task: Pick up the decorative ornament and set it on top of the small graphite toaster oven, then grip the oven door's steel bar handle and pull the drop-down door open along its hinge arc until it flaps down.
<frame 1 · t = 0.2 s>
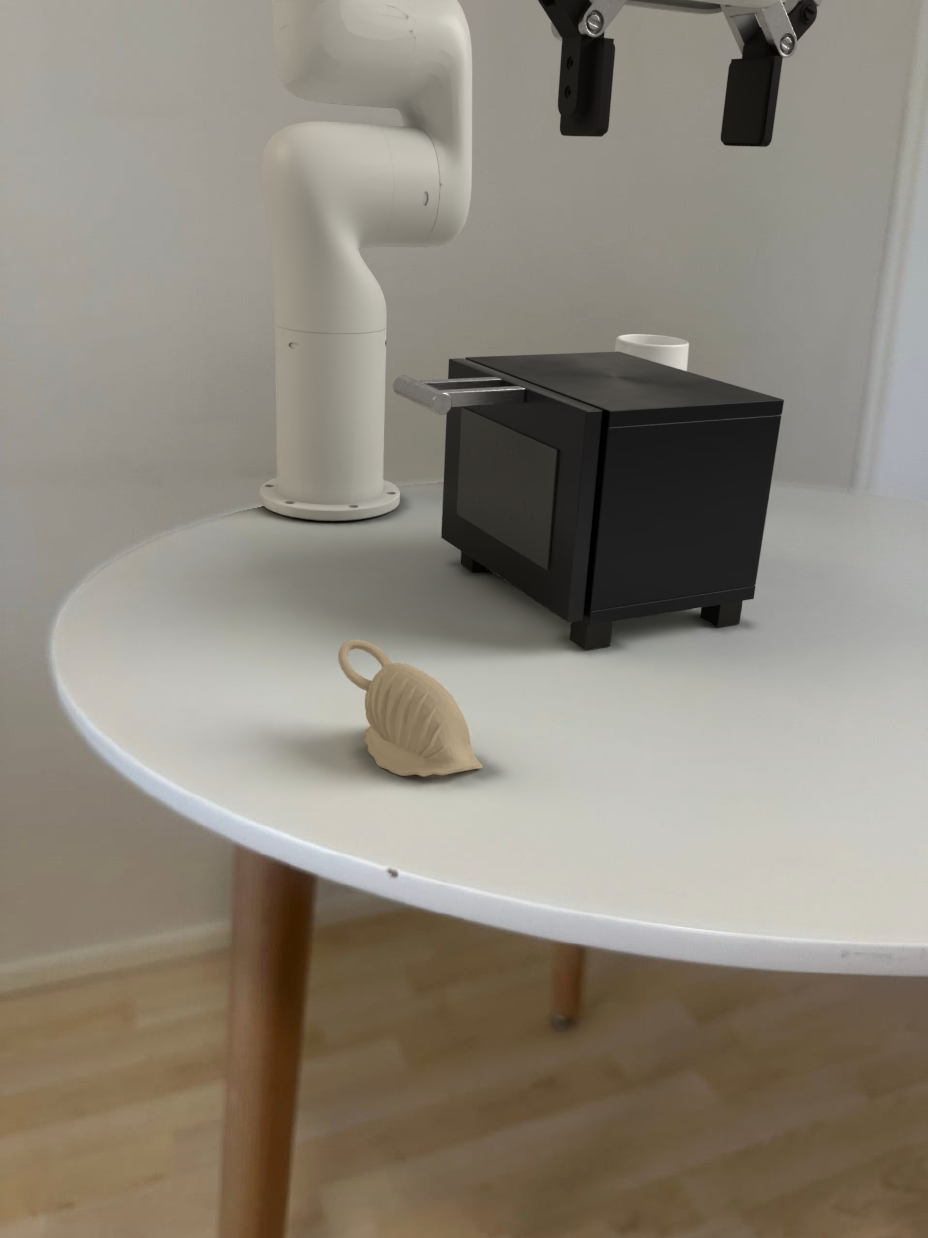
hand: (666, 140, 56), 31 cm above the table, tool pointing down, fingers open, 9 cm apart
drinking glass: (635, 500, 110), on the table
oven door: (465, 484, 78), point 9 cm above the table, hinge at 0.0°
oven: (592, 592, 86), on the table
decorative ornament: (407, 755, 62), on the table
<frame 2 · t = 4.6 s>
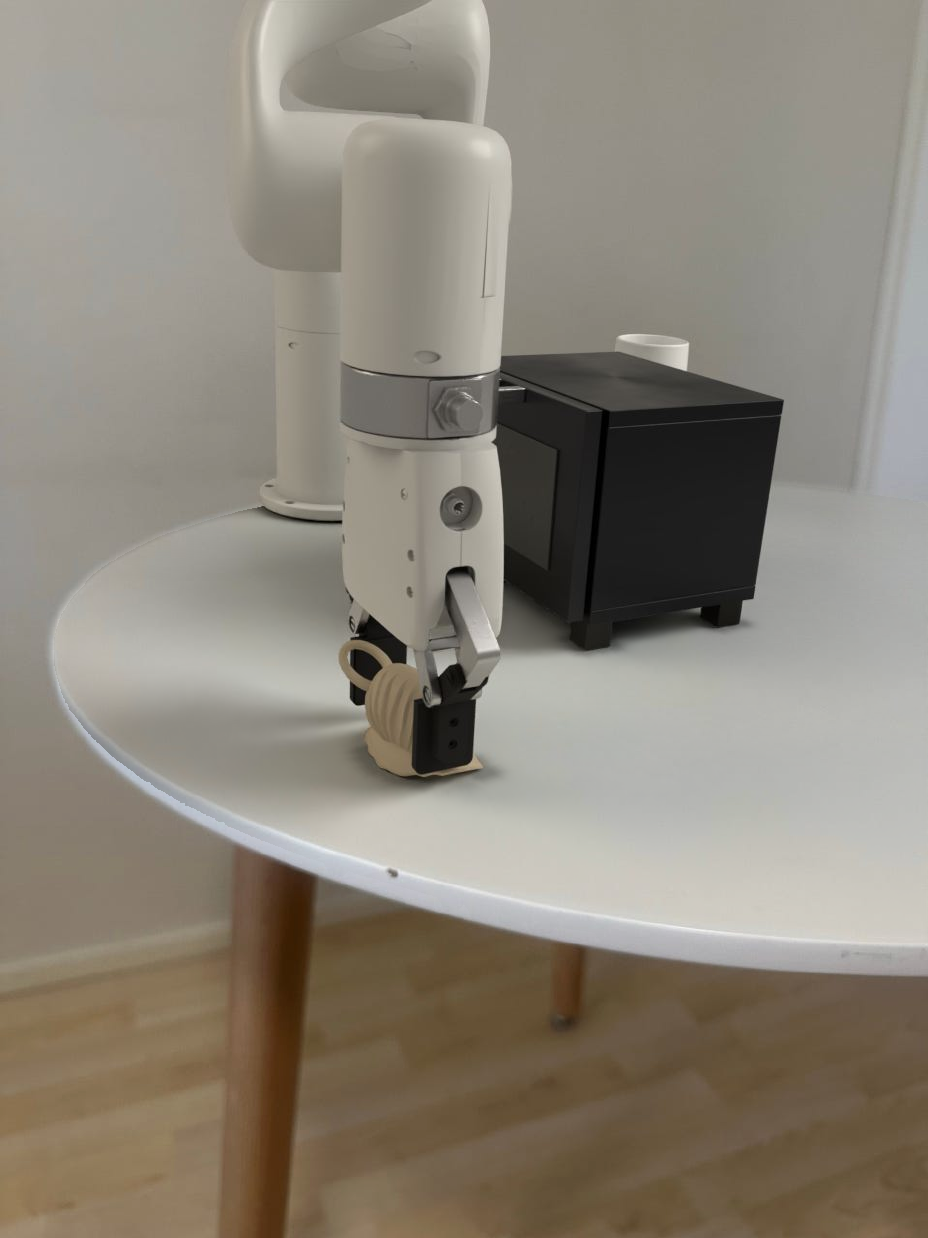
hand: (408, 730, 62), 1 cm above the table, tool pointing down, fingers closed on decorative ornament, 7 cm apart
decorative ornament: (408, 755, 62), on the table, touching gripper
everything else where it was.
when the fingers open (17 cm above the table, at t = 11.0 s): decorative ornament stays where it is, resting on oven.
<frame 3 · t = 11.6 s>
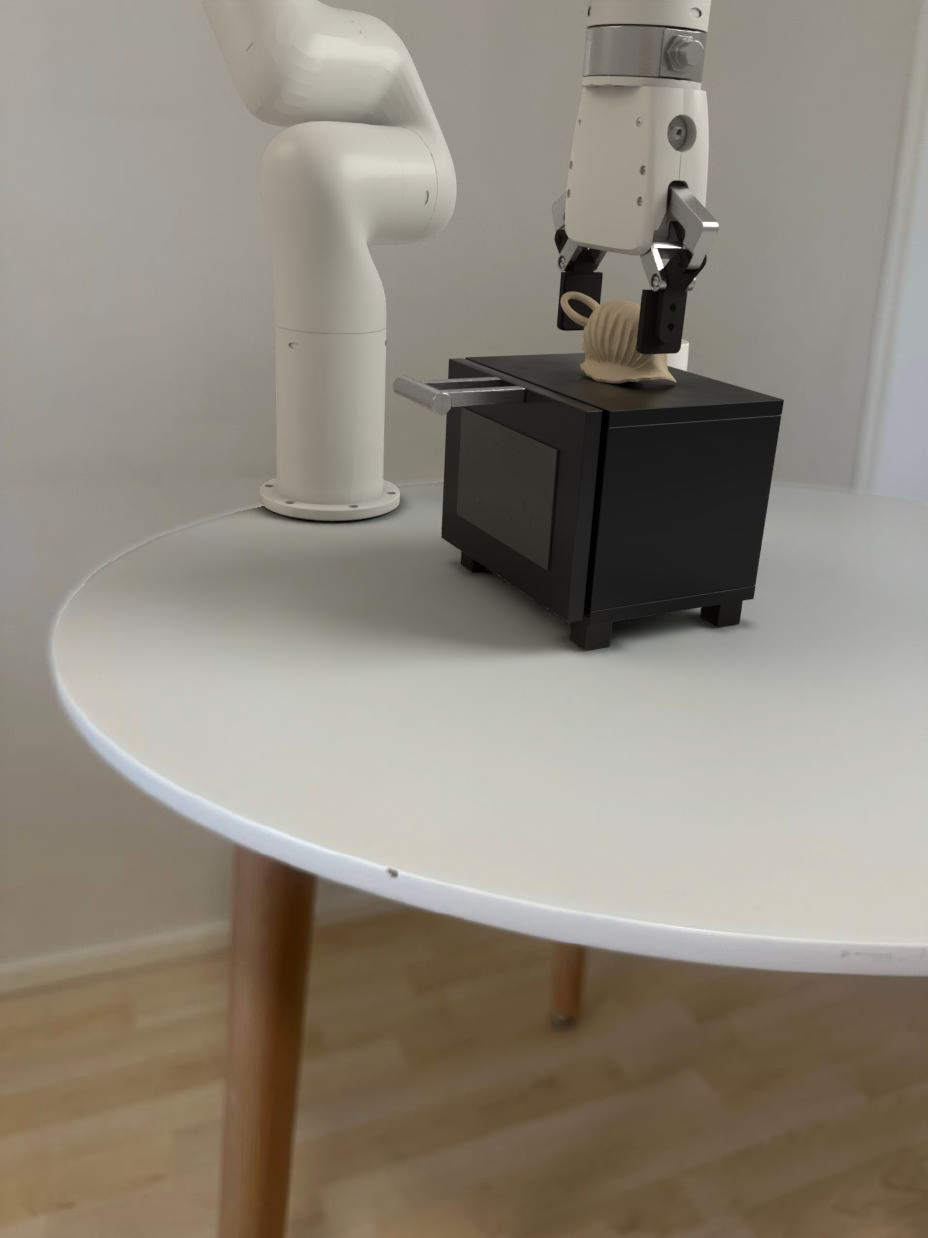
hand: (615, 340, 79), 18 cm above the table, tool pointing down, fingers open, 9 cm apart
decorative ornament: (614, 380, 80), point 16 cm above the table, touching oven
everything else where it was.
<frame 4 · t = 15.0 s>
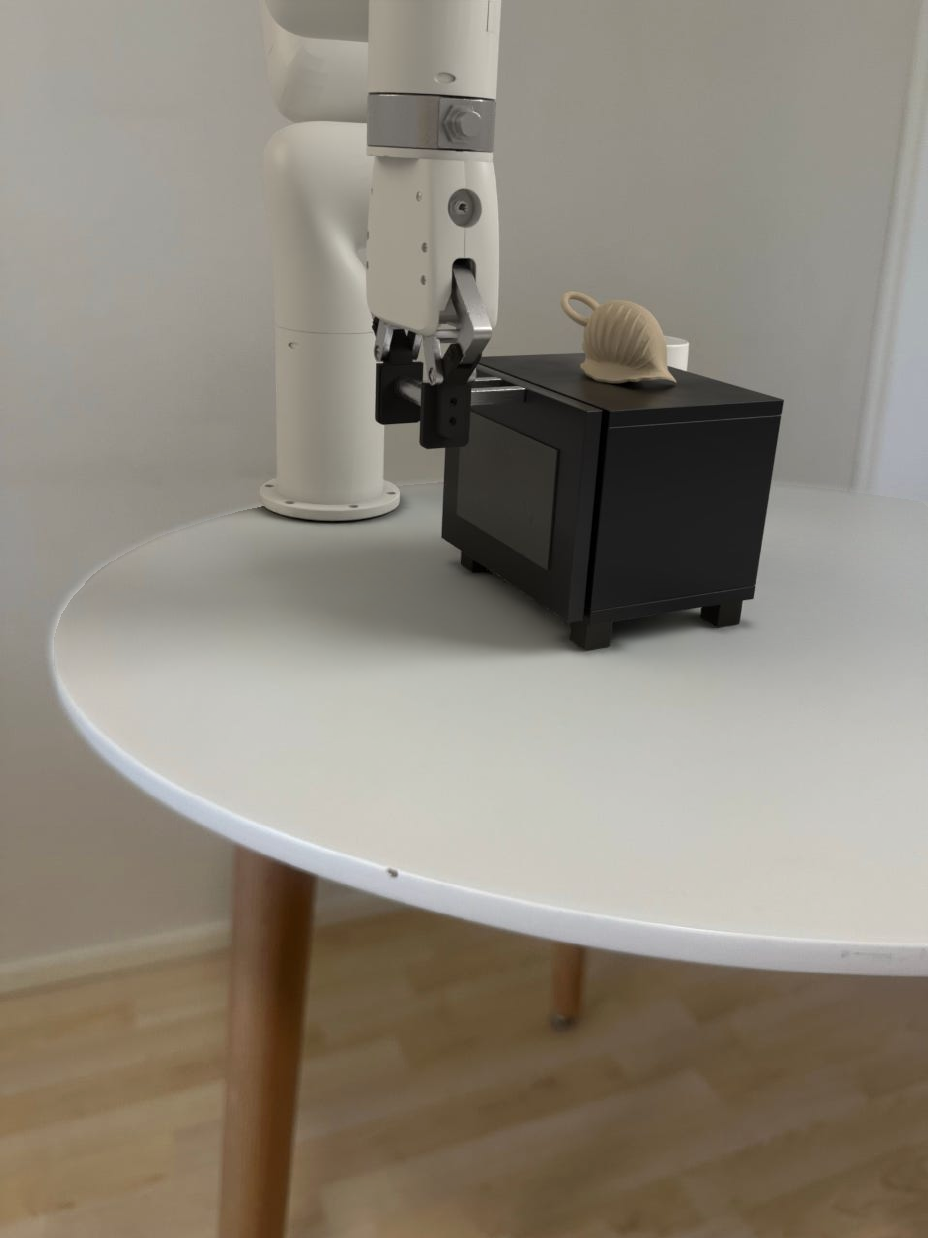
hand: (420, 431, 75), 13 cm above the table, tool pointing down, fingers closed on oven door, 6 cm apart
oven door: (465, 484, 78), point 9 cm above the table, hinge at 0.0°, touching gripper
everything else where it was.
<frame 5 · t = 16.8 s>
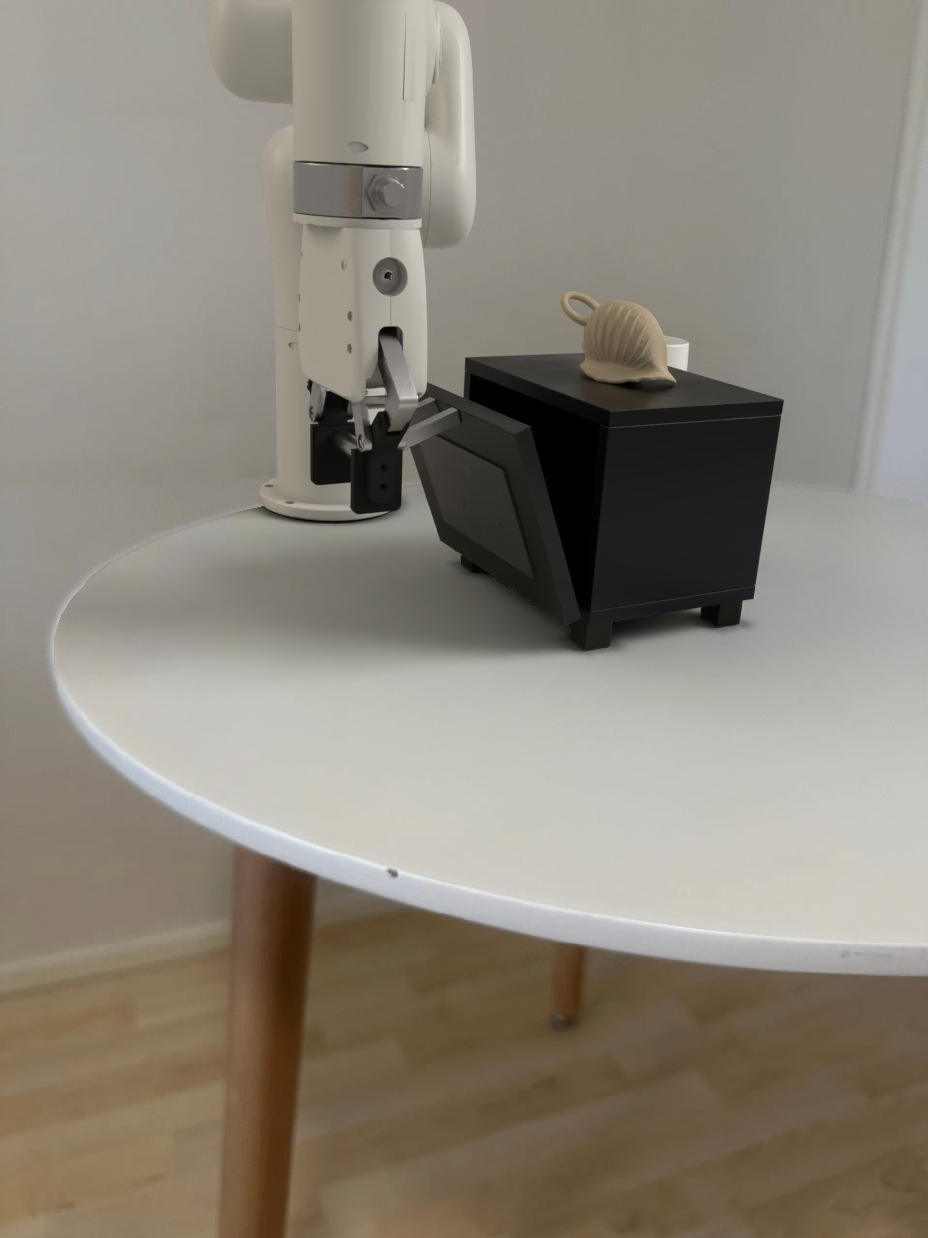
hand: (354, 493, 74), 9 cm above the table, tool pointing down, fingers closed on oven door, 6 cm apart
oven door: (433, 512, 77), point 8 cm above the table, hinge at 20.7°, touching gripper
everything else where it was.
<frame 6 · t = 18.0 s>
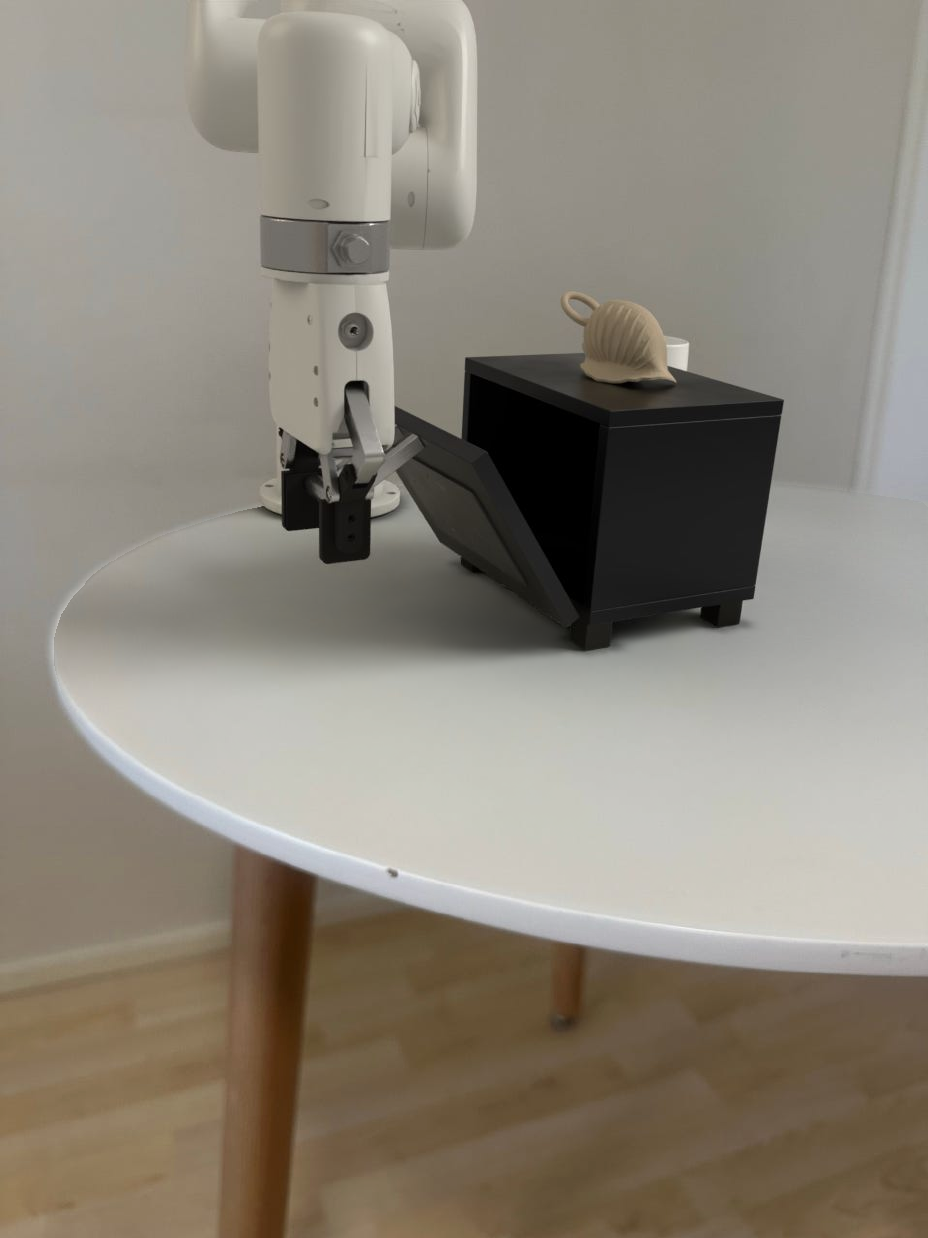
hand: (324, 541, 74), 6 cm above the table, tool pointing down, fingers closed on oven door, 6 cm apart
oven door: (418, 534, 77), point 6 cm above the table, hinge at 33.4°, touching gripper
everything else where it was.
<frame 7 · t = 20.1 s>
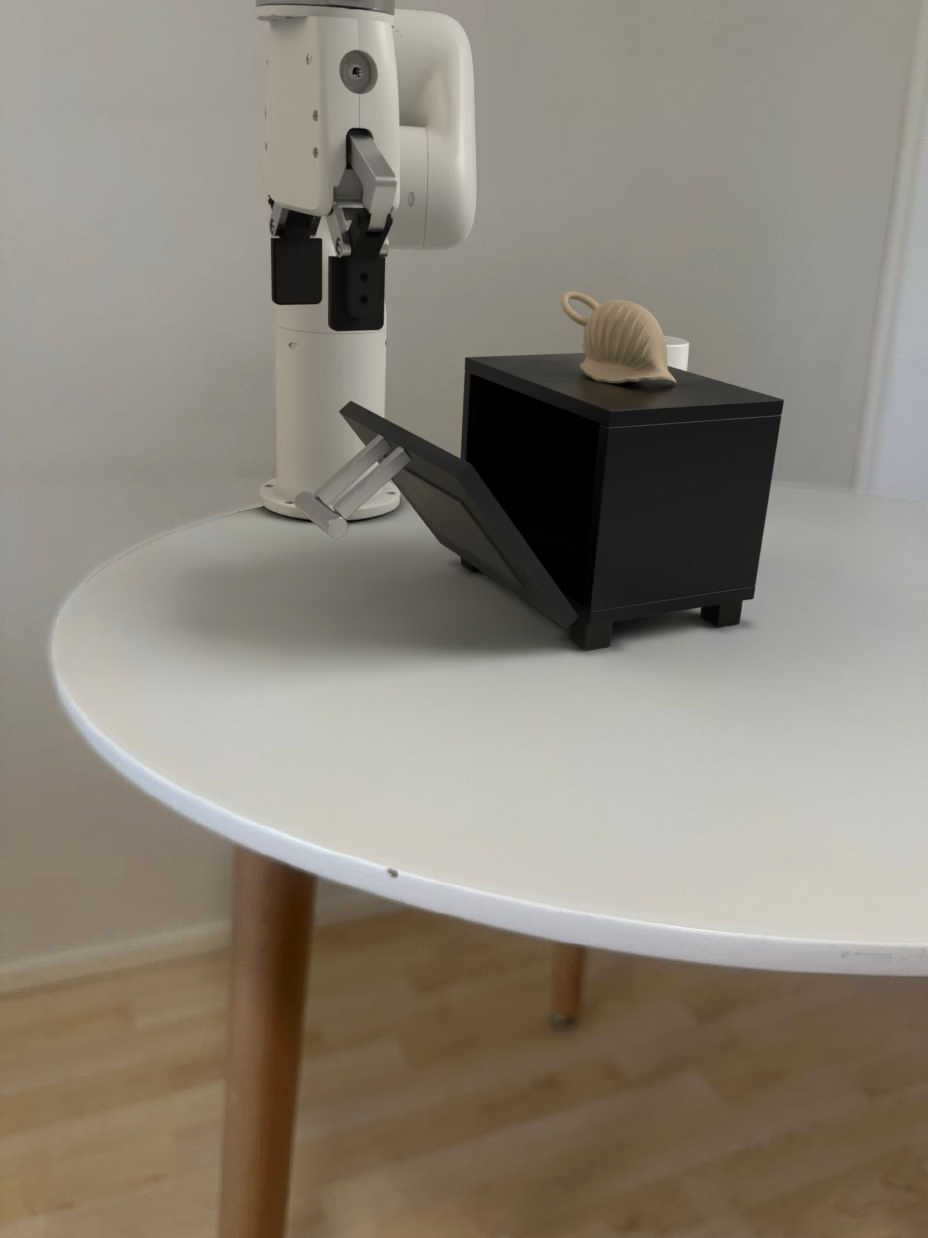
hand: (324, 316, 69), 20 cm above the table, tool pointing down, fingers open, 9 cm apart
oven door: (413, 544, 77), point 5 cm above the table, hinge at 38.3°
everything else where it was.
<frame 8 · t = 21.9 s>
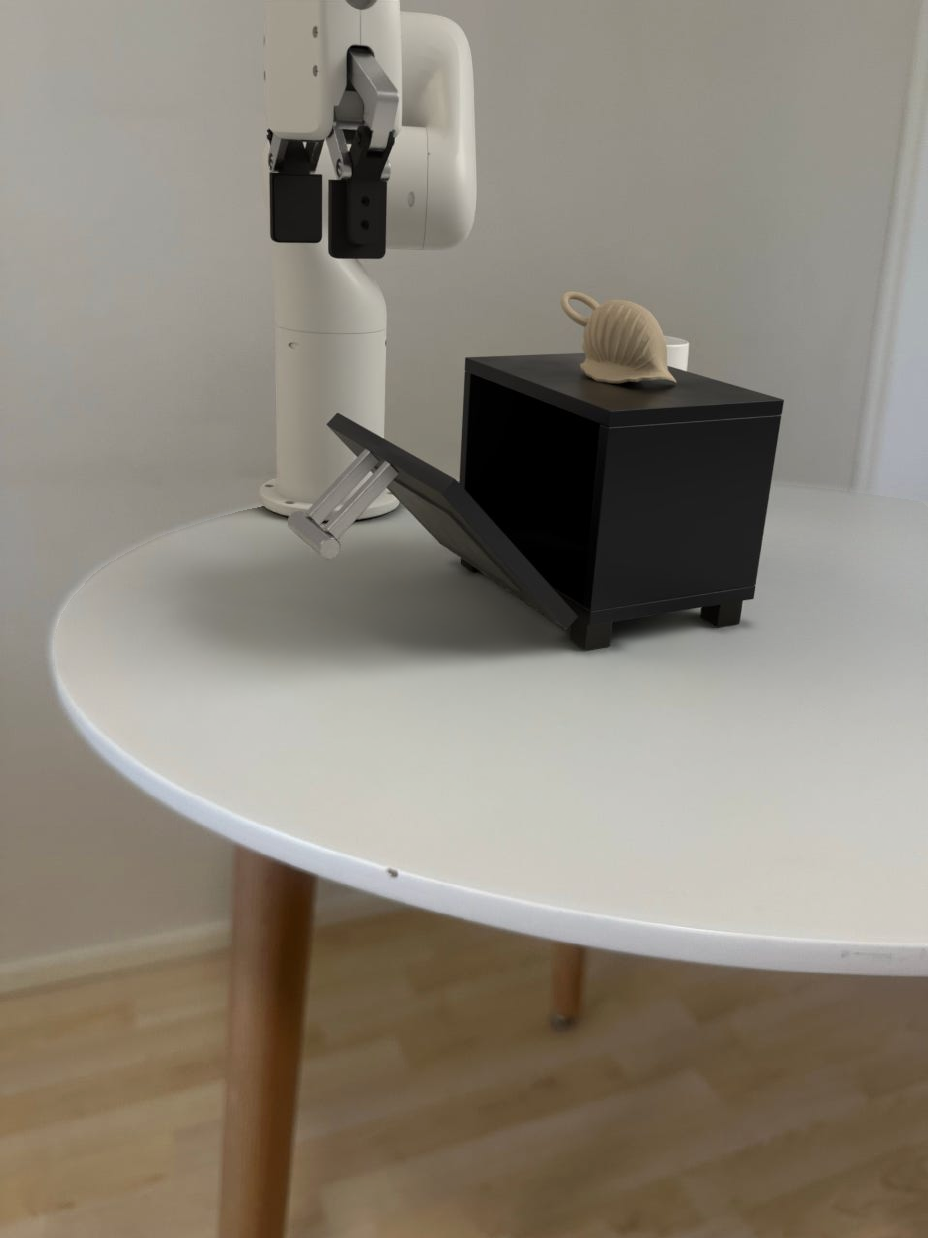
hand: (324, 249, 67), 24 cm above the table, tool pointing down, fingers open, 9 cm apart
oven door: (409, 554, 77), point 5 cm above the table, hinge at 43.5°
everything else where it was.
at the end: decorative ornament inside the target area on the oven (0.5 cm from its centre), point 15.8 cm above the oven's base; oven door at +44° (first picture: +0°) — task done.
